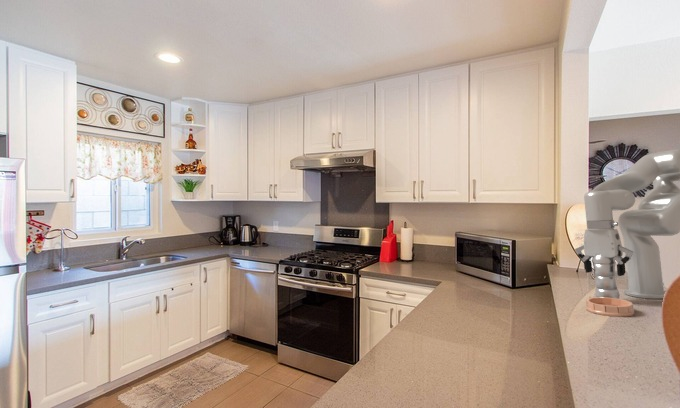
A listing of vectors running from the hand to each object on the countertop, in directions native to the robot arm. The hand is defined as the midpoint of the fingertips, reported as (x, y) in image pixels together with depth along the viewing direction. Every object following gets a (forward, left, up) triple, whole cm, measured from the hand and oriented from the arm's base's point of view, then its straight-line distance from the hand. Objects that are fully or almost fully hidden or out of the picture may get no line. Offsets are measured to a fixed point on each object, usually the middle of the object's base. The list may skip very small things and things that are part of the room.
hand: (604, 273), depth 116 cm
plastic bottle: (0, 0, -10) cm, 10 cm away
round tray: (+11, +5, -10) cm, 16 cm away
